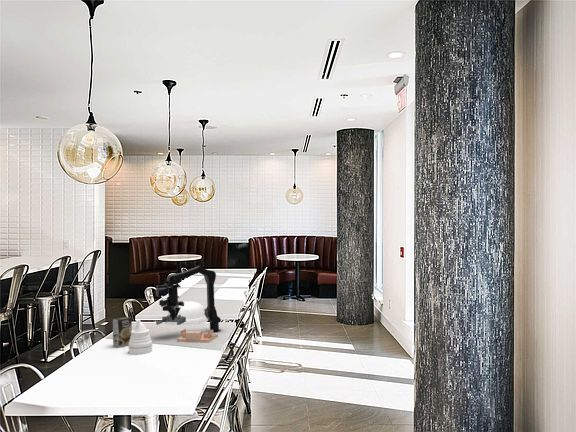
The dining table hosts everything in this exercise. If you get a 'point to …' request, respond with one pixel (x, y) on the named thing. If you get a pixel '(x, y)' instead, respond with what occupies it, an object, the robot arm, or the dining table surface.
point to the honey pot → (140, 340)
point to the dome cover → (191, 314)
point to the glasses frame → (179, 320)
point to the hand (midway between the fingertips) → (174, 319)
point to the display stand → (196, 336)
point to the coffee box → (122, 331)
